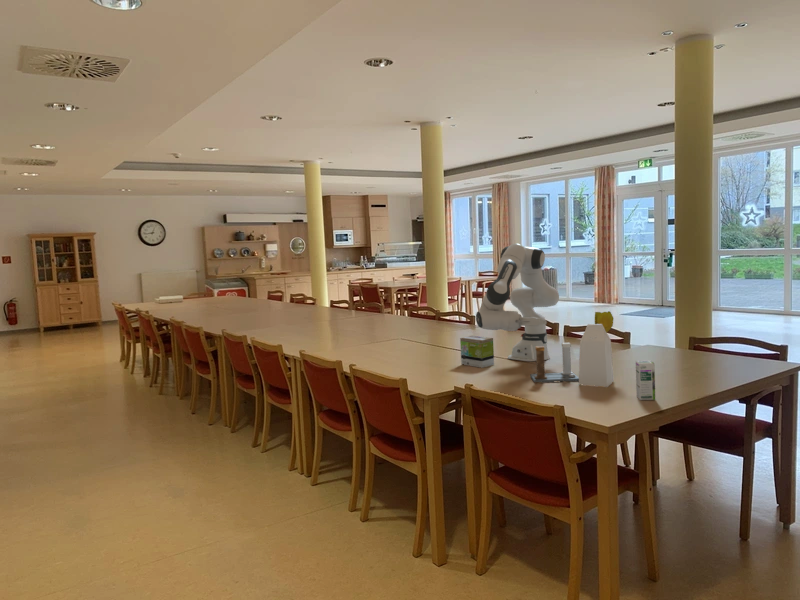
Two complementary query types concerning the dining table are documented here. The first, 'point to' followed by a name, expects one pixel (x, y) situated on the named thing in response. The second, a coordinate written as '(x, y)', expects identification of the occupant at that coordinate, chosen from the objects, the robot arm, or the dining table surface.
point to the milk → (595, 357)
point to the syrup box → (645, 380)
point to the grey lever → (566, 359)
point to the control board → (555, 377)
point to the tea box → (477, 351)
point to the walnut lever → (540, 363)
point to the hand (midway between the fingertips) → (542, 322)
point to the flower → (604, 319)
